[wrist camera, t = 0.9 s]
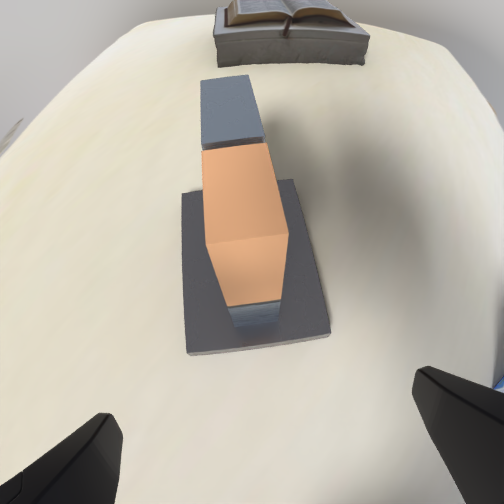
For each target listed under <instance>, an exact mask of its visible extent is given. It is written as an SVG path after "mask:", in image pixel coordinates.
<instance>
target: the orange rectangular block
mask: <svg viewBox="0 0 504 504" xmlns="http://www.w3.org/2000/svg"><path fill="white" fill-rule="evenodd" d="M202 180H203V204H204V223H205V241H206V247H207V250H208V253H209V256H210V259H211V261H212V264H213V267H214V270H215V273H216V276H217V279H218V282H219V285H220V287H221V290H222V293H223V296H224V299H225V301H226V304H227V307H228V308H233V307H241V306H248V305H256V304H263V303H270V302H277V301H281V294H282V286H283V278H284V270H285V262H286V253H287V245H288V236H289V232H288V228H287V224H286V219H285V215H284V211H283V206H282V202H281V198H280V194H279V190H278V185H277V181H276V177H275V173H274V169H273V165H272V161H271V157H270V153H269V149H268V146H267V143H259V144H250V145H241V146H233V147H226V148H219V149H212V150H205V151H202Z"/></svg>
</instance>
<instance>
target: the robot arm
mask: <svg viewBox="0 0 504 504" xmlns="http://www.w3.org/2000/svg"><path fill="white" fill-rule="evenodd" d="M412 395H413V398H414V400H415V403H416V405H417V407H418V410H419V412H420V414H421V417H422V419H423V421H424V424H425V426H426V429H427V431H428V433H429V435H430V437H431V439H432V441H433V442H434V444H435V446H436V448H437V450H438V451H439V453H440V455H441V457H442V459H443V461H444V462H445V464H446V466H447V468H448V470H449V472H450V474H451V475H452V477H453V479H454V481H455V483H456V485H457V487H458V489H459V491H460V493H461V495H462V497H463V499H464V501H465V503H466V504H504V393H503V392H500V391H497V390H494V389H491V388H488V387H485V386H483V385H480V384H477V383H474V382H472V381H469V380H466V379H463V378H461V377H458V376H455V375H452V374H450V373H447V372H444V371H442V370H439V369H437V368H434V367H431V366H425V367H422V368H420V369H418V370H417V371H416V373H415V378H414V382H413V387H412ZM122 443H123V434H122V431H121V429H120V427H119V426H118V424H117V422H116V420H115V418H114V416H113V415H112V414H110V413H98V414H97V415H95V416H94V417H93V418H91V419H90V420H89V421H88V422H86V423H85V424H84V425H82V426H81V427H80V428H78V429H77V430H76V431H75V432H73V433H72V434H71V435H69V436H68V437H67V438H65V439H64V440H63V441H61V442H60V443H59V444H58V445H56V446H55V447H54V448H52V449H51V450H50V451H48V452H47V453H46V454H44V455H43V456H41V457H40V458H39V459H37V460H36V461H35V462H33V463H32V464H31V465H29V466H28V467H27V468H25V469H24V470H23V472H22V471H21V472H20V473H18V474H17V475H15V476H14V477H13V478H11V479H10V480H8V481H7V482H5V483H4V484H2V485H1V486H0V504H114V503H115V498H116V493H117V487H118V482H119V475H120V464H121V453H122Z"/></svg>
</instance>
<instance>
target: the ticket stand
mask: <svg viewBox="0 0 504 504" xmlns="http://www.w3.org/2000/svg"><path fill="white" fill-rule="evenodd" d="M259 143H265V134H264V130H263V126H262V123H261V119H260V115H259V111H258V108H257V104H256V100H255V97H254V93H253V90H252V86H251V82H250V79H249V75H240V76H231V77H223V78H216V79H209V80H202V81H201V145H202V150H203V151H205V150H212V149H219V148H226V147H233V146H241V145H250V144H259ZM277 185H278V190H279V194H280V198H281V202H282V206H283V211H284V215H285V219H286V224H287V228H288V232H289V236H288V245H287V253H286V262H285V270H284V278H283V286H282V294H281V301H277V302H270V303H263V304H256V305H248V306H241V307H233V308H228V307H227V304H226V301H225V299H224V296H223V293H222V290H221V287H220V285H219V282H218V279H217V276H216V273H215V270H214V267H213V264H212V261H211V259H210V256H209V253H208V250H207V247H206V241H205V223H204V204H203V190H201V191H195V192H189V193H182V274H183V300H184V320H185V336H186V350H187V354H189V355H190V356H197V355H208V354H217V353H227V352H235V351H243V350H251V349H258V348H266V347H272V346H279V345H286V344H292V343H298V342H304V341H309V340H315V339H320V338H326V337H328V336H329V335H330V334H331V329H330V325H329V320H328V316H327V311H326V307H325V302H324V298H323V294H322V289H321V285H320V281H319V277H318V272H317V268H316V264H315V260H314V256H313V252H312V248H311V244H310V240H309V237H308V233H307V229H306V225H305V221H304V218H303V214H302V210H301V207H300V203H299V200H298V196H297V192H296V189H295V185H294V182H293V179H287V180H278V181H277Z"/></svg>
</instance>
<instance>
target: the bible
mask: <svg viewBox="0 0 504 504" xmlns="http://www.w3.org/2000/svg"><path fill="white" fill-rule="evenodd" d="M213 37H214V38H215V45H216V48H217V64H218V68H221V67H231V66H239V65H250V64H270V63H278V64H280V63H327V64H341V65H352V64H358V65H361V66H362V65H364V64H365V60H364V55H365V54H366V52H367V48H368V42H369V39H370V35H369V34H368V33H367V32H366V31H365V30H363V29H362V28H361V27H360V26H359V25H358V24H356V23H355V22H354V21H353V20H351V19H350V18H349V17H348V16H347V15H345V14H344V13H343V12H342V11H341V10H339V9H338V8H337V7H334V6H333V5H331V4H330V3H329V2H328V1H326V0H233V1H232V2H231V4H230V5H229V6H228V7H219V8H217V10H216V16H215V25H214V30H213Z"/></svg>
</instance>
